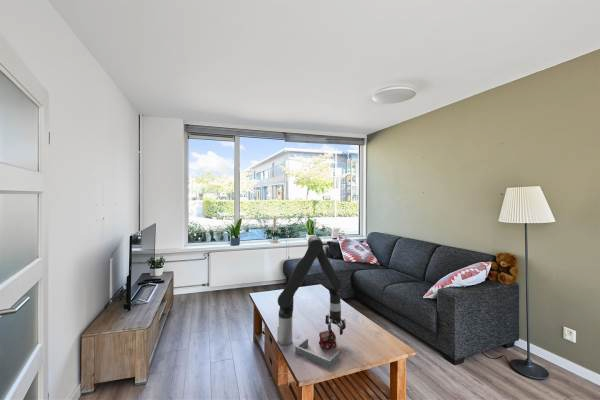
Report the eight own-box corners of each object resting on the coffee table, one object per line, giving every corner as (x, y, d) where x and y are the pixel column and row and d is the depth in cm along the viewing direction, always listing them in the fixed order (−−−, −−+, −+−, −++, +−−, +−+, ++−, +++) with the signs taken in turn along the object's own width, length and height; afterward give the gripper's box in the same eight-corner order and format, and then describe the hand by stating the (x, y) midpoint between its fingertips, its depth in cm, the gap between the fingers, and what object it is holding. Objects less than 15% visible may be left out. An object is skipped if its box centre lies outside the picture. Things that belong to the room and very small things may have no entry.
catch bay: (295, 352, 170) (295, 346, 170) (306, 344, 180) (306, 338, 180) (329, 368, 155) (329, 361, 155) (340, 358, 165) (340, 351, 165)
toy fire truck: (338, 346, 177) (339, 330, 177) (322, 351, 171) (322, 335, 171) (332, 341, 183) (332, 326, 183) (316, 346, 178) (316, 330, 177)
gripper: (323, 307, 185) (323, 331, 185) (342, 313, 176) (342, 338, 177) (329, 304, 191) (329, 327, 191) (347, 309, 182) (347, 333, 183)
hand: (335, 332), depth 184 cm, fingers open, 8 cm apart
